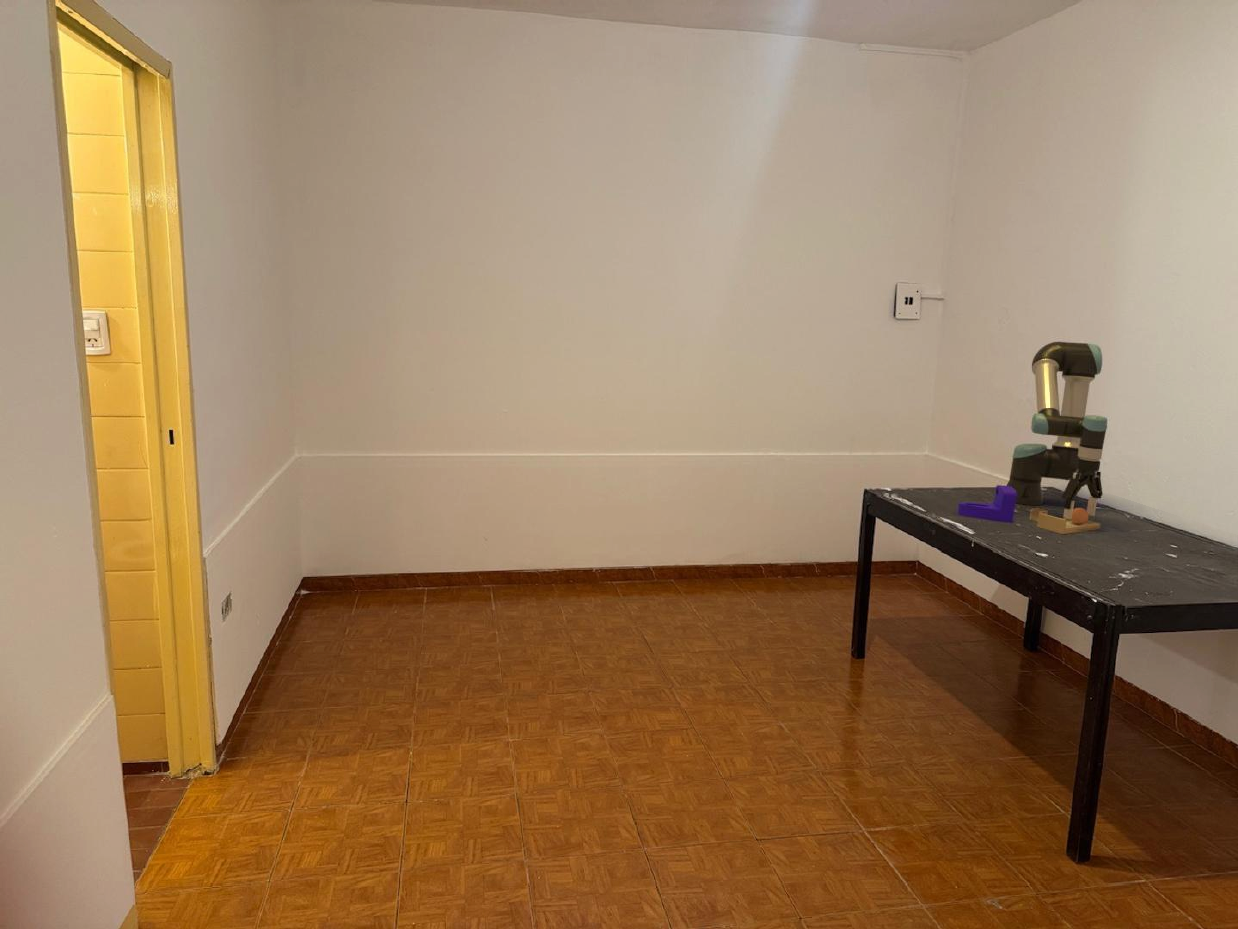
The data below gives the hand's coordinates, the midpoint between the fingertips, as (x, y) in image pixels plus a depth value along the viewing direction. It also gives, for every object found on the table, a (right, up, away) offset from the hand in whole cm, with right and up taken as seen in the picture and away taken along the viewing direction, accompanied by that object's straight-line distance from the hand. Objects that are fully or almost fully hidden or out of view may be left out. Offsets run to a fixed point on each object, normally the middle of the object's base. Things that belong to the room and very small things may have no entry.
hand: (1078, 516), depth 313 cm
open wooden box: (-12, -2, +7) cm, 14 cm away
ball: (0, 0, 0) cm, 0 cm away
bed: (-5, -4, -2) cm, 6 cm away
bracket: (-32, -1, +8) cm, 33 cm away
